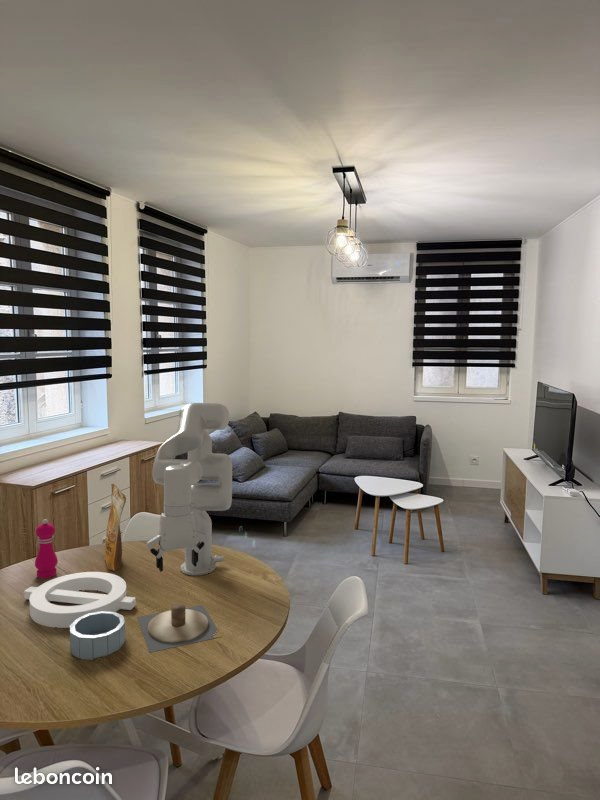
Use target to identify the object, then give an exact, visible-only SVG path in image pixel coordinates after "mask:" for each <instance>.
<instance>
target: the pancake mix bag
mask: <svg viewBox="0 0 600 800" xmlns="http://www.w3.org/2000/svg"><path fill="white" fill-rule="evenodd" d="M110 485H111V499H110V509H109V515H108V519H107V526H106V533H105V543H104V552H103V553H104V559H105V562H106V567H107V570H109V571H113V572H116V571H117V570H119V569H120V568H121V566H122V557H123V543H122V533H121V525H120V522H121V518H122V517H121V516H122V513H123V511H124V507H125V505H126V503H127V496H126V495H125V494H124V493H123V492H122V491H121V490H120V489H119V488H118V486H117V485H116V484H114V483H112V484H110Z"/></svg>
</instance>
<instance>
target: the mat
mask: <svg viewBox="0 0 600 800" xmlns="http://www.w3.org/2000/svg"><path fill="white" fill-rule="evenodd" d="M185 609H190V610H195V611H198V612H201V613H202V614H204V615H205V616H206V617H207V619H208V628H207V630H206V631H205V632H204V633H203V634H202V635H201V636H199V637H197V638H195V639H192V640H189V641H186V642H179V643H167V642H161V641H158V640H156V639H154V638H152V637H151V636H150V635H149V633H148V624H149V622H150V621H151V619H153V618H154V617H155V616H157V615H158V614H161V613H163V612H164V611H163V612H158V613H152V614H148V615H142V616H138V617H137V620H138V623H139V626H140V629H141V633H142V635H143V638H144V640H145V643H146V647H147V649H148V652H149V653H155V652H159V651H163V650H167V649H172V648H173V649H174V648H178V647H181V646H187V645H191V644H195V643H201V642H204V641H209V640H214V639H213V638H214V637H213V636H215V635H216V634H215V632H216V630H217V631H219V630H218V628H217V626H216V625H215V623H214V621H213V620H212V617H211V616H210V614H209V613H208V611H207V609H206V608H205V606H204V604H201V605H196V606H195V605H194V606H190V607H185ZM216 633H217V632H216ZM213 634H215V635H213Z"/></svg>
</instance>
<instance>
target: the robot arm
mask: <svg viewBox="0 0 600 800" xmlns="http://www.w3.org/2000/svg"><path fill="white" fill-rule="evenodd" d="M178 413H179V414H178V415H179V416H178V417H179V421H178V425H177V429H176V434H174V435H172V436H171V437H170V438H168V439H167V440H165V442H163V443H162V444H161V445H160V446H159V447H158V449H157V452H156V455H155V457H154V462H153V466H152V469H151V470H152V471H151V472H152V475H151V476H152V480H153V481H154V482H155V484H156V485H157V484H158V485H163V512H162V513H161V514H160V518H159V524H158V535H156V536H154V537H153V538H151V539H150V540H148V541H147V542H146V543H145V544H146V547H147V548H148V550H149V552H150V553H151V554H152V555H153V556H155V557H156V558H155V559H156V560H155V563H156V565H155V566H156V569H158V570H159V572H160V573H161V572H163V570H164V558H163V555H164V553H165V552H169V551H178V550H184V562H182V564H180V572H182V573H183V574H185V575H188V576H195V577H196V576H204V575H208V573H209V574H210V573H213V572H214V571H215V570H216V569H217V567H216V566H217V564H216V563H220V562H225V556H224V555H219V554H215V555H213V554H212V545H213V544H212V542H213V541H212V538H213V537H212V536H213V535H212V533H213V531H212V529H213V527H212V525H213V523H212V519H211V516H209V514H208V513H207V511H210V512H211V511H213V512H214V511H215V512H216V511H217V512H218V511H219V512H222V511H227V510H229V509H230V508H231V506H232V500H233V499H232V497H233V462H232V458H231V456H230V455H229V454H226V453H218V452H217V453H216V452H215V453H213V440H212V437H211V435H210V433H209V432H208V431H207V430H213V431H214V430H215V431H217V430H218V431H221V430H222V431H223V430H226V429H227V428H228V426H229V421H230V412H229V410H228V408H227V406H225V405H224V404H221V403H217V402H216V403H215V402H212V403H211V402H190V403H188V404H185V406H182V407H181V408H180V410H179V412H178ZM183 454H187V459H181V458H180V459H177V458H176V459H175V457H177V456H180V455H183ZM203 480H204V481H217V482H218V483H204V482H203V483H199V482H200V481H203ZM157 543H158V546H159V547H157V549H156V548H155V547H154V545H156V544H157ZM212 571H213V572H212Z"/></svg>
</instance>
